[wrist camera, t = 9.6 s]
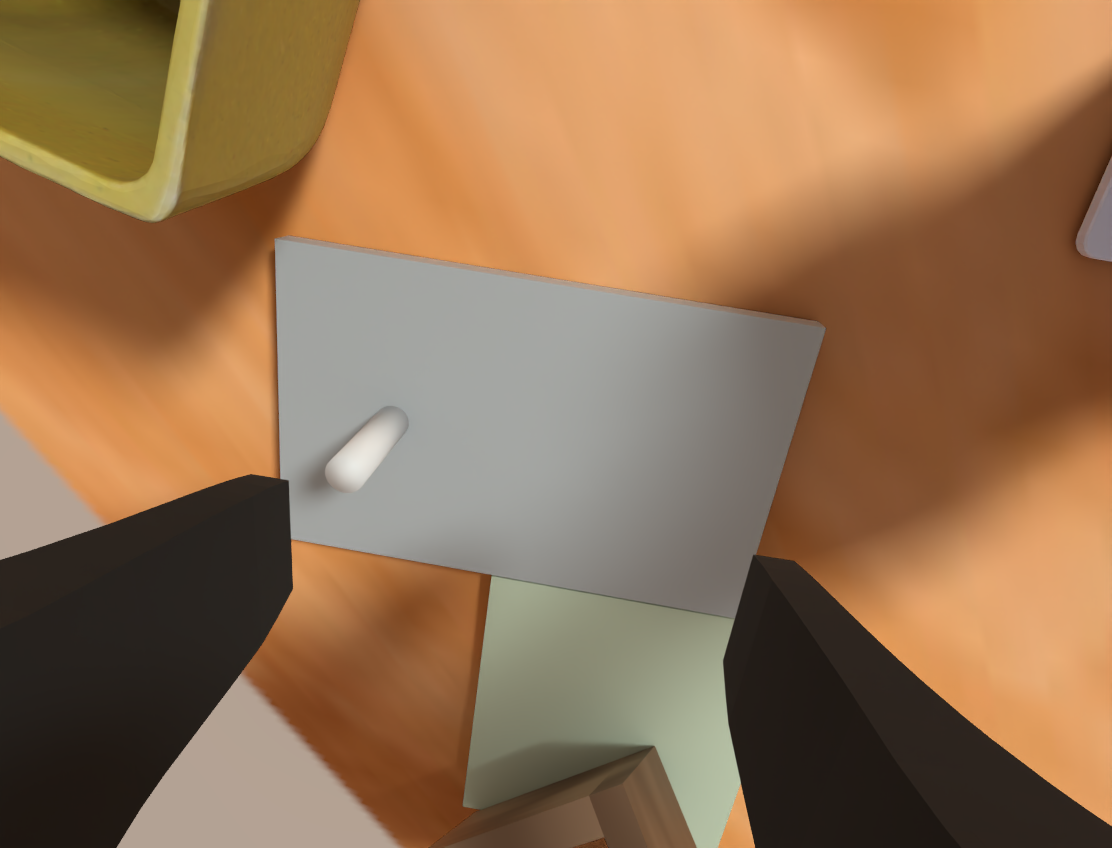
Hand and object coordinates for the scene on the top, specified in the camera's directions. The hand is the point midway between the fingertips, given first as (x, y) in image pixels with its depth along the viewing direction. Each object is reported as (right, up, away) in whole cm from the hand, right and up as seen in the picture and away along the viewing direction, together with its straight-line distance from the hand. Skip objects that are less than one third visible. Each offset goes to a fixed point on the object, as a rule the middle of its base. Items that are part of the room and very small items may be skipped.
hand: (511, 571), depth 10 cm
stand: (0, +2, +10) cm, 10 cm away
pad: (+3, -8, +14) cm, 16 cm away
